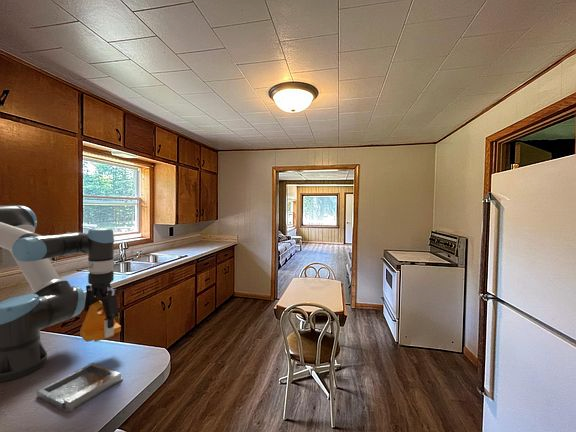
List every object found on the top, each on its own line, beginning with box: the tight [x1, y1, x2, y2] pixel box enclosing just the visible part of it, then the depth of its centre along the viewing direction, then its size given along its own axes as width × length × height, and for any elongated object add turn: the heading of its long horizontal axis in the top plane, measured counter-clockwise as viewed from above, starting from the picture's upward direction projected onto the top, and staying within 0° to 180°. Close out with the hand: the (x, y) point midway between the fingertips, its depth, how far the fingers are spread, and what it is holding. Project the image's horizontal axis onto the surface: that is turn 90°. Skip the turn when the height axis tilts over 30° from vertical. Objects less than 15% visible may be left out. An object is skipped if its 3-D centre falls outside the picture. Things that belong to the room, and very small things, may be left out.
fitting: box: [36, 362, 124, 414], centre depth 81 cm, size 15×15×2 cm
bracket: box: [79, 301, 122, 343], centre depth 98 cm, size 11×7×12 cm, turn 142°
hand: (101, 333), depth 99 cm, fingers closed on bracket, 8 cm apart
